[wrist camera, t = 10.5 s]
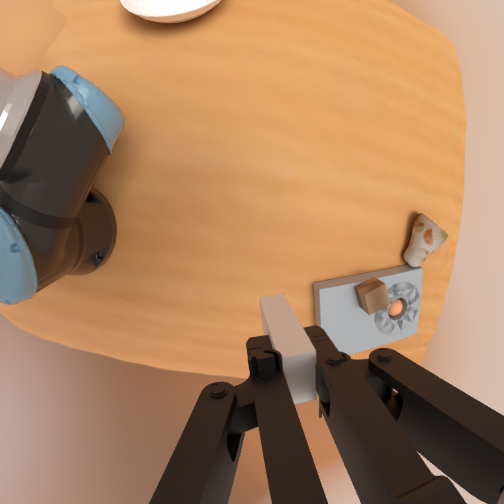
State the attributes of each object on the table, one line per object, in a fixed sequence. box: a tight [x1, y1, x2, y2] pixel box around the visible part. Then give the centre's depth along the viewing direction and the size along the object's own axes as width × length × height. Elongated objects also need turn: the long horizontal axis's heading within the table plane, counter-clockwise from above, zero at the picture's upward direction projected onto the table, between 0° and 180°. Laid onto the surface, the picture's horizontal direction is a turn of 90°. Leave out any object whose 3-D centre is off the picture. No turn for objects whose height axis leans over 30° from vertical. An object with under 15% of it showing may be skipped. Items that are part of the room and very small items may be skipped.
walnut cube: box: [354, 277, 390, 316], centre depth 42 cm, size 4×4×4 cm
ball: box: [388, 298, 403, 316], centre depth 48 cm, size 4×4×4 cm
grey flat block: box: [313, 264, 423, 355], centre depth 47 cm, size 21×14×4 cm, turn 97°
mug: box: [404, 213, 448, 267], centre depth 44 cm, size 8×10×10 cm
